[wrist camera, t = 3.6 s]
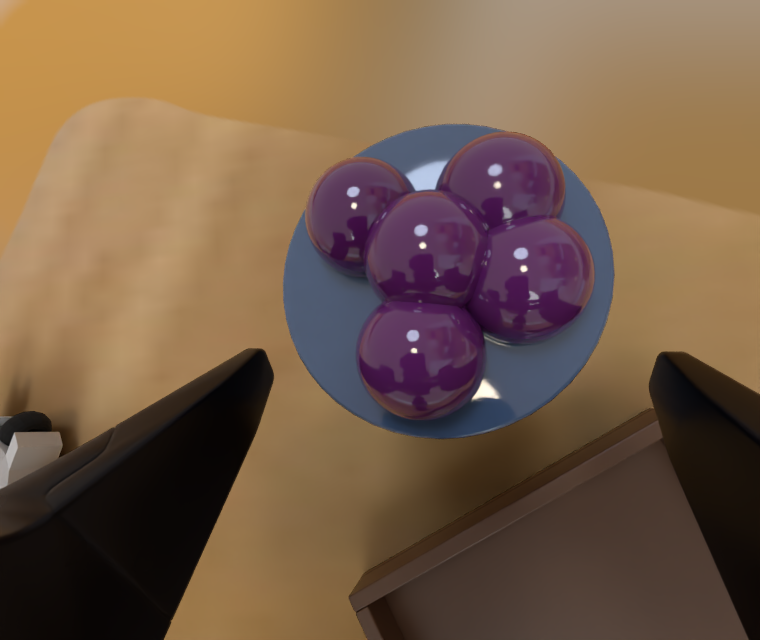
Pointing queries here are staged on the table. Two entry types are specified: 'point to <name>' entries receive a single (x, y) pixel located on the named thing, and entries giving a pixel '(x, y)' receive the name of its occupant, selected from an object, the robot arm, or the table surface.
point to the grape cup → (448, 280)
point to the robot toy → (26, 445)
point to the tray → (562, 559)
